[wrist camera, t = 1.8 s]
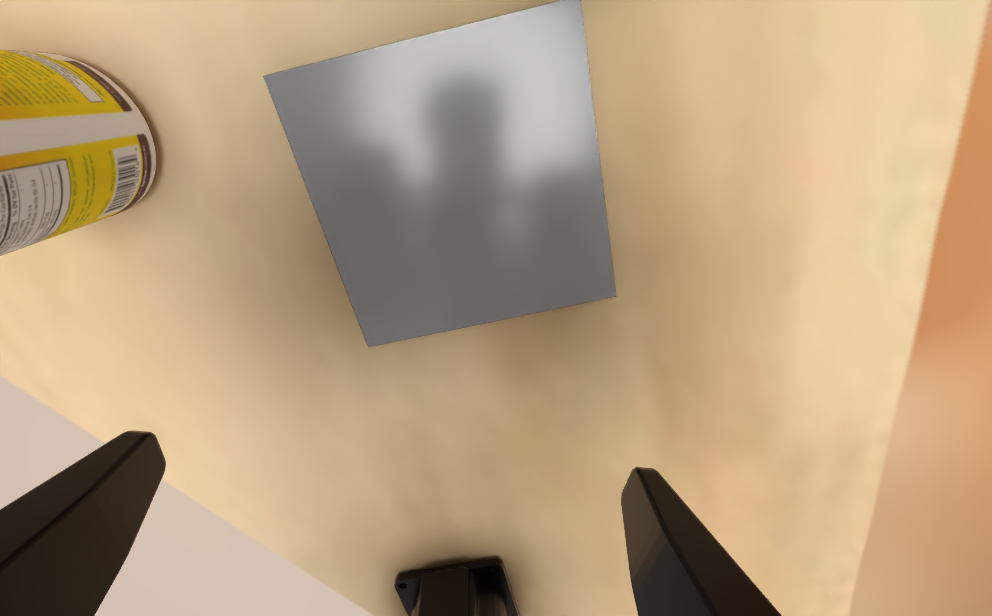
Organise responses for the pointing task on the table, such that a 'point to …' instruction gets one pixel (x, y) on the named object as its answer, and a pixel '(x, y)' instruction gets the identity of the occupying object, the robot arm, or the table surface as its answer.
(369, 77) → the coaster
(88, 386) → the table surface
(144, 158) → the supplement bottle
